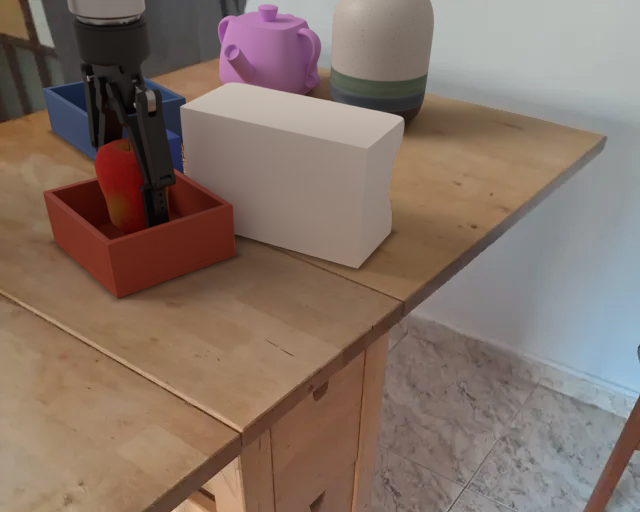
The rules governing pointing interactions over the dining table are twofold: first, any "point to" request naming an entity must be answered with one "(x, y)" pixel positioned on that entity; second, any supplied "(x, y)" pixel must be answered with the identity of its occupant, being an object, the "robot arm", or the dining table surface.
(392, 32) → the vase
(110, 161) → the apple
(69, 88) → the blue bin
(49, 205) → the red bin
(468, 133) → the dining table surface
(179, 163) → the block
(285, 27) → the teapot
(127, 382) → the dining table surface
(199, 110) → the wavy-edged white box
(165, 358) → the dining table surface
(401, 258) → the dining table surface
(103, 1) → the robot arm
